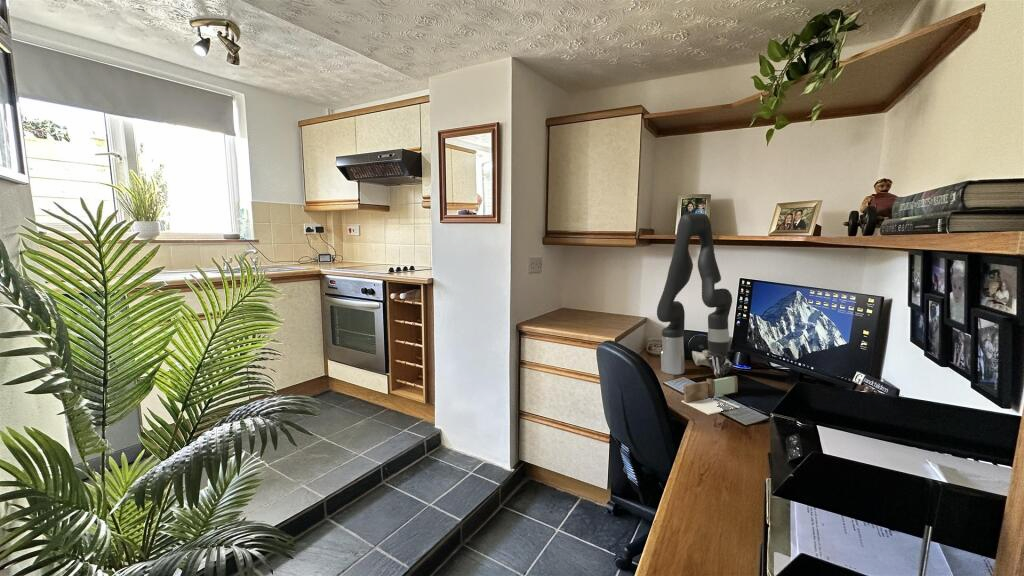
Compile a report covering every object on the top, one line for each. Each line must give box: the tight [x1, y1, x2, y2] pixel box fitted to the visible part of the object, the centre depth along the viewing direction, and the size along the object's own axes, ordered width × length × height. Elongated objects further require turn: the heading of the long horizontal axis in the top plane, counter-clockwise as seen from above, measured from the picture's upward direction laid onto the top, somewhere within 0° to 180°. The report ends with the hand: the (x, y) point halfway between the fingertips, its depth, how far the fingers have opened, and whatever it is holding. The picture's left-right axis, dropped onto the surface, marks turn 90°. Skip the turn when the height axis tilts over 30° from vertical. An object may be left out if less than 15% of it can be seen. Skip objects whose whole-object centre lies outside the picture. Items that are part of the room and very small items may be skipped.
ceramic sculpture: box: [691, 348, 711, 368], centre depth 188 cm, size 11×9×15 cm
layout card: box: [681, 398, 741, 416], centre depth 143 cm, size 14×14×1 cm
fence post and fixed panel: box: [683, 378, 715, 403], centre depth 147 cm, size 13×2×7 cm, turn 106°
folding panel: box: [713, 375, 739, 397], centre depth 150 cm, size 11×2×6 cm, turn 106°
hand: (720, 382), depth 155 cm, fingers closed
